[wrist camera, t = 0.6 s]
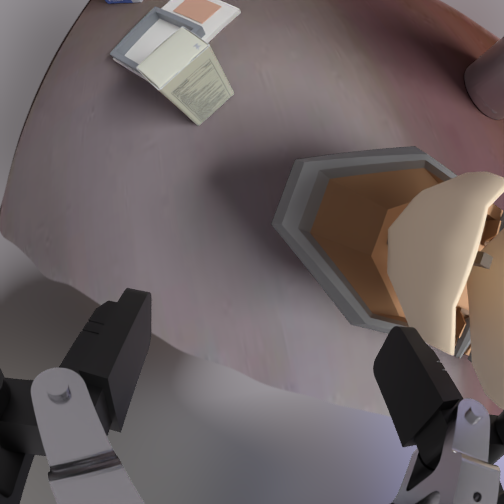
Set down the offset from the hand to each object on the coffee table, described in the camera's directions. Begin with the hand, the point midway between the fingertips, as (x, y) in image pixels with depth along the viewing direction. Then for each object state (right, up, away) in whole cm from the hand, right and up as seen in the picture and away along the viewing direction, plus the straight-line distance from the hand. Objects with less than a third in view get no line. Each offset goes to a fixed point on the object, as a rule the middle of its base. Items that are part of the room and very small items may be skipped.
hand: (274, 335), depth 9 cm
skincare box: (-6, +21, +25) cm, 34 cm away
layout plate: (-12, +33, +24) cm, 43 cm away
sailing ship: (+24, 0, +24) cm, 34 cm away
